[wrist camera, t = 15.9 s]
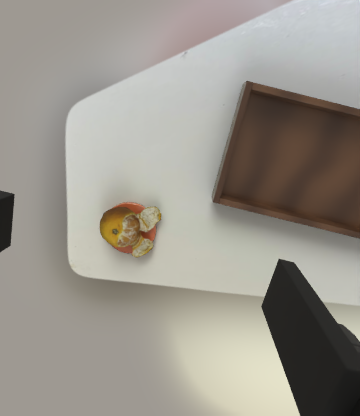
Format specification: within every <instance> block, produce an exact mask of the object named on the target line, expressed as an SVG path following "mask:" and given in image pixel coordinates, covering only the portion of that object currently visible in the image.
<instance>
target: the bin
mask: <svg viewBox="0 0 360 416" xmlns="http://www.w3.org/2000/svg"><path fill="white" fill-rule="evenodd" d="M212 200H213V202H214V203H219V204H222V205H226V206H230V207H234V208H239V209H243V210H247V211H251V212H255V213H259V214H263V215H267V216H271V217H275V218H279V219H283V220H287V221H291V222H295V223H299V224H303V225H308V226H312V227H316V228H320V229H324V230H328V231H332V232H336V233H340V234H344V235H348V236H352V237H356V238H360V109H356V108H352V107H348V106H344V105H341V104H337V103H333V102H329V101H325V100H321V99H317V98H313V97H309V96H305V95H301V94H297V93H293V92H289V91H285V90H281V89H277V88H273V87H269V86H265V85H261V84H257V83H253V82H249V81H246V82H245V83H244V84H243V86H242V89H241V93H240V96H239V100H238V103H237V107H236V111H235V114H234V118H233V121H232V125H231V129H230V132H229V136H228V139H227V143H226V147H225V150H224V154H223V157H222V161H221V165H220V168H219V172H218V175H217V179H216V183H215V186H214V190H213V193H212Z"/></svg>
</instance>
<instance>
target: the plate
mask: <svg viewBox="0 0 360 416" xmlns="http://www.w3.org/2000/svg"><path fill="white" fill-rule="evenodd" d="M120 206H121V207H127V208H128V209H130V210H132V211H133V212H134V213H136V214H139V213H141V212H142V211H143V210H144V209H145V207H144V206H142V205H140V204H137V203H133V202H124V203H120V204H118V205H116V206H114V207H113V208H116V207H120ZM155 235H156V224H155V226H154V227H153V228H152V229H151V230H149V231H147V232H145V231H141V236H142V237H143V238H144V239H150V241H152V242H153V240H154V238H155ZM112 246H113V245H112ZM113 247H114V248H115V249H117V250H119V251H121V252H124V253H133V249H132V246H131V245H128V246H126V247H115V246H113Z"/></svg>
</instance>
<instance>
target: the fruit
mask: <svg viewBox="0 0 360 416" xmlns="http://www.w3.org/2000/svg"><path fill="white" fill-rule="evenodd" d="M160 220H161V213H160V210H159V209H158V208H157V207H147V208H145V209H144V210H143V211H142V212H141V213H139V214H136V213H134V212H133V211H132V210H130V209H128V208H127V207H121V206H120V207H116V208H112V209H110V210H108V211H106V212H105V213H104V214H103V217H102V219H101V221H100V233H101V235H102V237H103V238H104V239H105V240H106V241H107V242H108V243H110V244H111V245H113V246H115V247H126V246H128V245H131V246H132V249H133V253H132V256H134V257H140V256H142V255H144V254H146V253H147V252H149V250H151V249H152V248H153V243H152V241H150V239H144V238H143V237H142V236H141V231H145V232H147V231H149V230H151V229H152V228H153V227H154V226H155V224H156V223H157V222H158V221H160Z"/></svg>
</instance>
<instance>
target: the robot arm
mask: <svg viewBox="0 0 360 416" xmlns="http://www.w3.org/2000/svg"><path fill="white" fill-rule="evenodd" d="M13 206H14V194H12V193H8V192H4V191H0V252H1V251H3V250H4V249H6V248H8V247H9V246H10V243H11V232H12V219H13ZM262 310H263V312H264V315H265V318H266V321H267V324H268V326H269V329H270V332H271V335H272V338H273V340H274V343H275V346H276V349H277V351H278V354H279V357H280V360H281V363H282V366H283V368H284V371H285V374H286V377H287V379H288V382H289V385H290V387H291V391H292V393H293V396H294V399H295V402H296V405H297V407H298V410H299V413H300V416H360V342H359V340H358V339H357V338H356V336H355V335H354V334H352V333H351V332H350V331H349V330H348V329H347V328H346V327H345V326H343V325H342V324H338V323H337V322H336V321H335V319H334V318H333V316H332V315H331V314H330V313H329V311H328V310H327V308H326V307H325V305H324V304H323V302H322V301H321V300H320V298H319V297H318V295H317V294H316V292H315V291H314V290H313V288H312V287H311V285H310V284H309V283H308V281H307V280H306V278H305V277H304V276H303V274H302V273H301V271H300V270H299V269H298V267H297V266H296V264H295V263H294V262H290V261H286V260H282V259H279V260H278V263H277V266H276V268H275V271H274V274H273V276H272V279H271V282H270V284H269V287H268V290H267V293H266V295H265V298H264V301H263V304H262Z"/></svg>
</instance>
